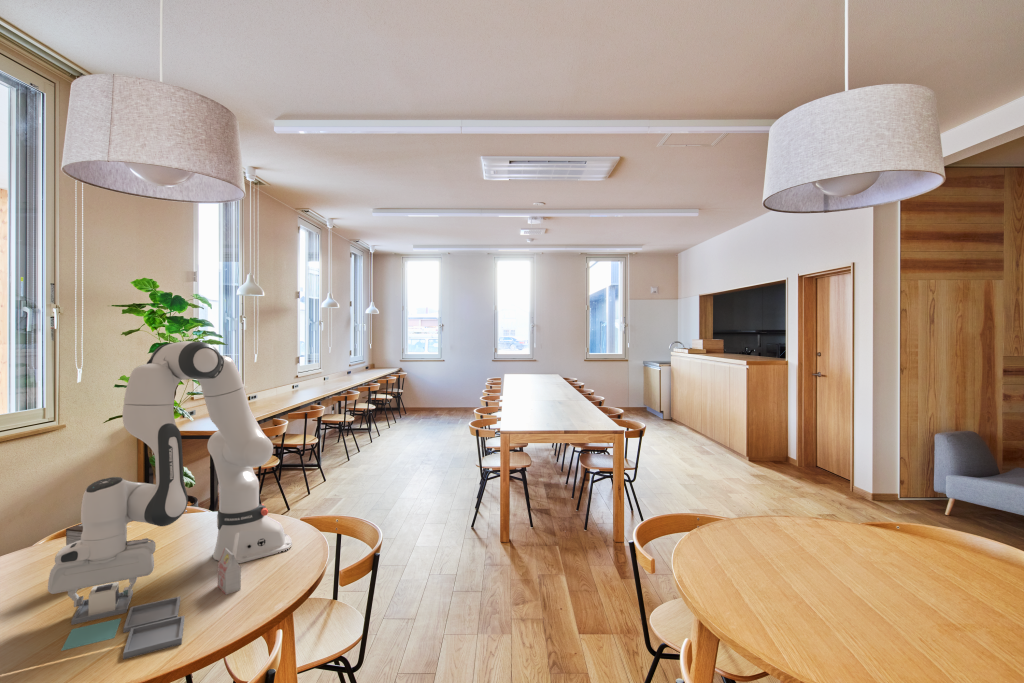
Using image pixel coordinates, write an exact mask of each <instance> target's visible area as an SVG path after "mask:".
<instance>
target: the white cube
mask: <svg viewBox="0 0 1024 683" xmlns="http://www.w3.org/2000/svg"><path fill="white" fill-rule="evenodd" d="M119 583H120V581H117V582H112V583H106V584H101V585H96V586H92V588H91V591H90V593H89V594H88V599H89V611H88V616H89V615H94V614H98V613H103V612H107V611H112V610H115V609H116V606H117V604H118V601H119V593H120V592H119V589H120V587H119V585H120V584H119Z"/></svg>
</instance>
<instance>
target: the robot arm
mask: <svg viewBox="0 0 1024 683" xmlns="http://www.w3.org/2000/svg"><path fill="white" fill-rule="evenodd" d="M190 379H191V380H193V379H194V380H195V379H196V380H197V382H198V383H199V384H200V386H201V391H202V394H203V398H204V401H205V405H206V409H207V412H208V415H209V419H210V421H211V422H212V423H213V424H214V425H215V427H216V428H217V429H218V430H217V431H215V432H214V433H212V435H210V437H209V438H208V441H207V445H206V446H207V450H208V453H209V454H210V456H211V458H212V460H213V465H214V469H215V472H216V477H217V481H218V489H219V490H218V491H219V492H218V494H219V496H218V497H219V498H218V499H219V500H218V502H219V506H218V507H219V509H218V510H217V514H216V527H217V537H216V543H215V548H214V551H213V554H212V558H213V559H214V560H215V561H218V562H219V561H220V559H221V556H222V554H223V551H224V548H227V549H228V550H229V551H230V552H231V553H232V554H233V555H234V557H235V559H236V561H237V563H238V564H242V563H245V562H250V561H253V560H257V559H261V558H263V557H267V556H272V555H274V554H279V553H282V552H281V551H283V552H286V551H288V550H289V549H288V548H290V546H291V545H292V546H293V540H292V538H291V536H290V535H289V534H287V533H285V530H284V527H283V525H282V523H281V522H280V521H278V520H276V519H274V518H272V517H270V515H268V514H269V510H268V508H267V506H266V505H265V504H264V503H260V481H259V478H258V477H257V475H256V474H255V471H254V468H258V467H259V468H260V467H261V466H264V465H265V464H267V462H269V460H271V458H272V456H273V452H274V445H273V442H272V440H270V438H269V437H268V436H267V435H266V434H265V433H264V431H263V429H262V428H261V426H260V425H259V423H258V421H257V419H256V417H255V416H254V414H253V411H252V410H251V407H250V403H249V400H248V397H247V393H246V390H245V385H244V382H243V379H242V375H241V373H240V372H239V369H238V367H237V365H236V363H235V362H234V360H233V359H232V358H231V357H230V356H227V355H221V354H220V352H219V350H218V349H217V348H216V347H215V346H213V345H212V344H210V343H209V342H204V341H192V340H185V341H183V340H181V341H178V342H168V343H164V344H163V345H160V346H159V347H157V348H156V349H155V350H154V351H153V353H152V354H151V356H150V358H149V360H148V361H147V362H146V363H145V364H141V365H139V366H136V367H135V368H133V369H132V370H131V373H130V376H129V378H128V381H127V384H126V389H125V392H124V399H123V406H122V423H123V428H124V429H126V431H127V432H128V433H129V434H130V435H131V436H133V437H135V438H137V439H138V440H140V441H142V442H143V443H144V444H146V445H147V446H148V447H149V448H150V449H151V451H152V453H153V455H154V462H155V463H154V465H155V484H154V483H147V482H135V481H130V480H126V479H124V478H123V477H120V476H112V477H107V478H101V479H98V480H96V481H95V482H92V483H91V484H89V485H88V486H87V487H86V488H85V491H84V493H83V496H82V499H81V500H82V501H81V507H80V508H81V509H80V512H81V513H80V522H81V523H82V525H83V532H82V534H81V540H79V541H77V542H74V543H72V544H69V545H66V544H65V546H63V547H61V548H60V550H59V551H58V552H57V553H56V554H55V557H54V565H53V566H52V568H51V569H50V571H49V576H48V579H47V580H48V581H47V591H48V592H49V593H50V594H52V595H53V594H54V595H55V594H59V593H64V592H67V596H68V597H69V598H70V599H71V600H72V601H73V607H74V608H78V607H79V606H82V604H83V600H85V599H84V595H82V596H80V595H79V594H78V593H77V591H78V590H79V589H86V588H90V587H94V586H99V585H104V584H109V583H114V582H122V581H126V580H128V583H130V584H129V585H128V586H127V587H126V586H125V587H124V588H123V591H122V592H123V593H124V595H123V597H126V596H131V593H132V590H133V587H134V586H135V584H136V583H137V580H138V578H141V577H146V576H149V575H151V574H152V573H153V571H154V569H155V557H154V553H155V552H156V545H157V544H156V542H155V540H153V539H150V538H147V537H146V538H142V539H134V540H132V539H131V540H128V539H127V538H128V527H127V525H128V523H130V522H136V523H146V524H148V525H153V526H157V527H167V526H169V525H172V524H173V523H175V522H176V521H178V520H179V519H180V518H181V517H182V515H184V513H185V511H186V509H187V508H188V503H189V497H188V493H187V492H188V491H187V488H186V485H185V478H184V460H183V459H184V458H183V442H182V435H181V431H180V429H179V427H178V426H177V424H176V420H175V414H174V408H175V407H174V405H175V392H176V389H177V386H178V385H179V383H180V382H182V381H183V380H184V381H185V380H190ZM127 540H128V541H127ZM292 546H291V547H292ZM287 549H288V550H287ZM290 549H291V548H290ZM285 550H286V551H285ZM278 552H279V553H278Z"/></svg>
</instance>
